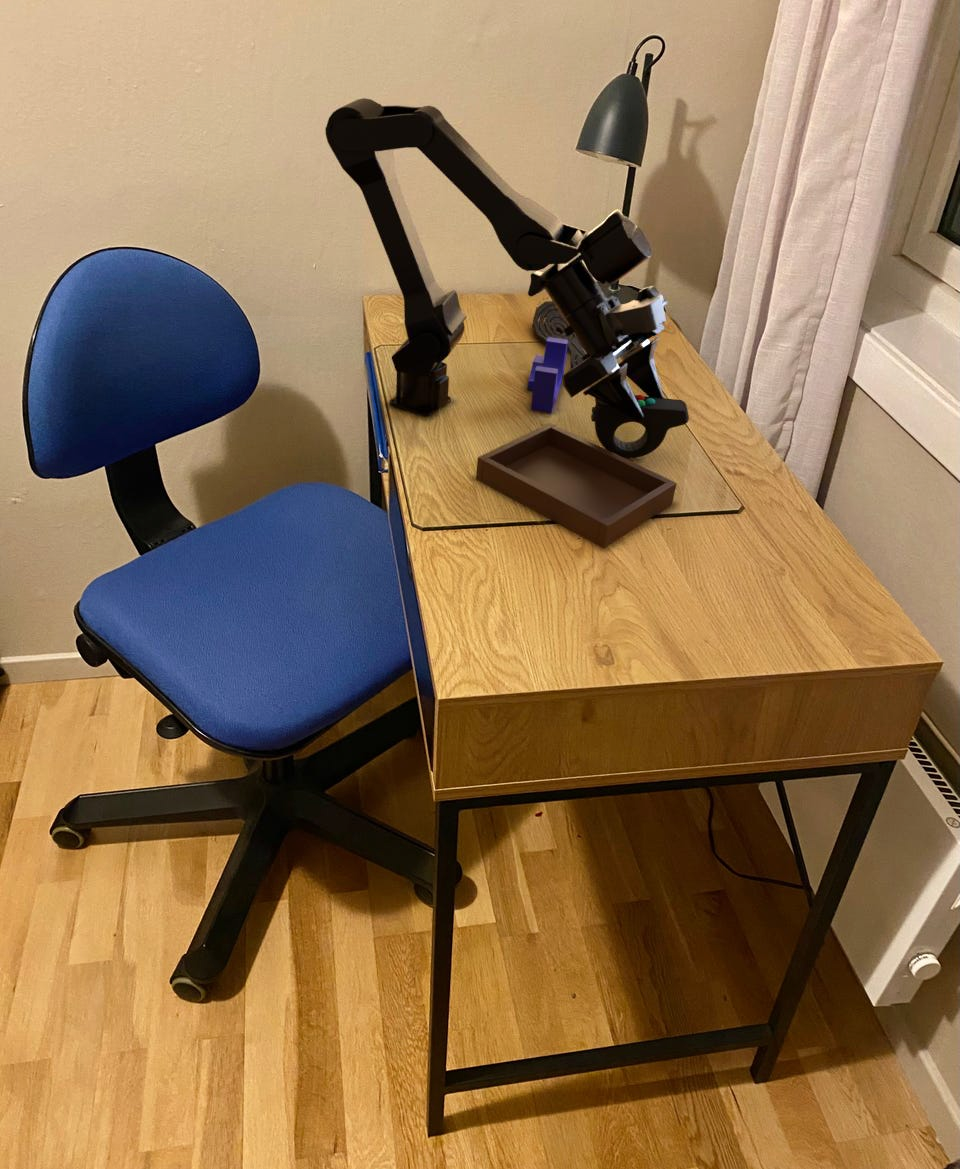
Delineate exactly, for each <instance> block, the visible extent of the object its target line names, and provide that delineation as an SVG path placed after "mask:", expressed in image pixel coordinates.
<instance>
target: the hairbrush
mask: <svg viewBox="0 0 960 1169" xmlns="http://www.w3.org/2000/svg"><path fill="white" fill-rule="evenodd" d="M548 298H549V297H545V298H544V297H543V299H542V300H543V302H542V301H539V302H538V306H535V308H536V309H535V311H534V315H533V318H532V325H531V326H532V329H533V332H534V336H535V338H536V340H538V341H539V342H540V343H542V344H543V345H545V346H546V341H547V338H548V337H551V338H558V339H565V340H568V344H567V353H568V355H569V364H570V365H569V366H570V370H571V369H573V368H574V367H575V366H577V365H578V364H580V363H581V362H583V360H582V357H583V356H584V355H586V354H587V353H586V352H585V350H584V349H583V347H582V346H581V344H580V343H579V341H578V340H577V338H576V336H575V335H574V333H572V334H571V335H570V336H568V337H567V335H566V334H565V332H564V331H563V330H564V329H565V328H567V327H568V324H567V323H566V321H565V320H564V319H565V318H563V316H562V315H561V313H560V312H559V310H558V309H557V307H556V306H555V304H554V303H553V301H552V300H551V301H550V300H548ZM546 299H547V300H548V301H547V300H546ZM541 302H542V303H541ZM566 318H567V317H566Z"/></svg>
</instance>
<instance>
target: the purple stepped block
mask: <svg viewBox="0 0 960 1169" xmlns="http://www.w3.org/2000/svg"><path fill="white" fill-rule="evenodd" d="M567 344H568V340H565V339H558V338H551V337H548V338H547V341H546V345H545V347H544V355H540V354H535V356H534V358H533V360H532V365H531V370H530V374H529V376H528V380H527V391H529V392H530V391H531V392H532V395H531V396H532V397H531V404H530V405H531V406H530V410H531V411H535V412H541V413H547V414H549V413H550V414H552V413H553V410H554V408H555V405H556V402H557V398H558V395H559V391H560V389H561V385H562V384H563V379H564V375H565V366H566V359H567V353H568V350H567Z"/></svg>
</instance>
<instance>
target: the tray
mask: <svg viewBox="0 0 960 1169" xmlns="http://www.w3.org/2000/svg"><path fill="white" fill-rule="evenodd" d="M476 460H477V461H476V475H475V480H476V481H479V482H481V483H483V484H484V485H486V486H488V487H490V488H491V489H493V490H495V491H497V492H498V493H501V494H503V495H505V496H506V497H508V498H510V499H512V500H514V501H516V502H517V503H520V504H521V505H523V506H524V507H527V508H528V509H531V511H534V512H536V513H538V514H540V515H542V516H543V517H545V518H547V519H549V520H551V521H552V522H554V523H556V524H558V525H560V526H562V527H563V528H566V529H567V530H569V531H571V532H573V533H574V534H577V535H578V536H580V537H582V538H584V539H586V540H587V541H589V542H591V543H593V544H595V545H597V546H599V547H600V548H602V549H605V548H607V547H609V546H610V545H611V544H613V543H615V542H616V541H618V540H619V539H620V538H621V539H622V537H624V536H625V535H627V534H628V533H631V531H633V530H635V529H636V528H638V527H639V526H641V525H642V524H644V523H646V522H647V521H649V520H650V519H651V518H653V517H655V516H656V515H658V514H660V513H661V512H663V511H664V510H666V509H667V508H669V507H670V506H672V505H673V503H674V498H675V492H676V489H677V482H676V481H674V480H671V479H669V478H667V477H665V476H663V475H661V474H659V473H657V472H655V471H653V470H650V469H649V468H646V467H644V466H642V465H640V464H638V463H636V462H635V461H631V460H630V459H628V458H624V457H621V456H619V455H617V454H615V453H613V452H611V451H608V450H606V449H605V448H604V447H603V446H600V445H598V444H596V443H593V442H591V441H589V440H588V439H585V438H583V437H580V436H579V435H577V434H575V433H573V432H571V431H568V430H566V429H564V428H562V427H560V426H558V425H556V424H554V423H552V422H549V423H546V424H544V425H542V426H540V427H538V428H536V429H533V430H532V431H530V432H527V433H526V434H523V435H521V436H519V437H517V438H515V439H513V440H510V441H509V442H507V443H504V444H503V445H500V446H498V447H496V448H494V449H492V450H490V451H489V452H486V453H484V454H482V455H480V456H477V459H476Z"/></svg>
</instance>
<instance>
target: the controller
mask: <svg viewBox="0 0 960 1169" xmlns="http://www.w3.org/2000/svg"><path fill="white" fill-rule="evenodd" d="M634 396H635V398H636V400H637V402H638V404H639V406H640V408H641V410H642V413H643V415H644V418H643V419H642V420H640V421H639V422H636V421H635V420H633V419H631V418H630V417H628V416H626V415H625V414H623V413H621V412H620V411H618V410H616V409H615V408H613V407H611V406H610V405H608V404H606V403H604V402H602V401H600V400H598V399H596V398H595V397H594V402H595V405H594V406H592V407H591V416H590V418H591V419H590V420H591V422H593V423H594V427H595V429H594V430H595V434H596V437H597V439H598V441H599V443H600V444H601V446H602V448H604V449H606V450H608V451H611V452H613V453H615V454H617V455H619V456H621V457H623V458H625V459H635V458H641V457H644V456H646V455H647V456H648V455H649V454H651V453H652V452H654V451H655V450H657V449H658V448H659V447H660V446H661V445H662V443H663V442H664V439H665V438H666V435H667V433H668V431H669V430H670V429H673V428H677V427H682V426H684V425H687V423H689V420H690V416H689V410H688V406H687V404H686V402H685V401H683V400H682V399H674V398H666V397H664V398H656V397H649V396H647V395H646V396H645V395H642V394H637V395H636V394H634ZM627 423H637V424H640V425H641V426H642V427H644V428H645V430H644V433H643V434H642V435H641V437H639V438H637V440H634V441H630V442H629V441H622V440H620V439H618V438H617V436H616V431H617V430H618V428H620V426H622V425H624V424H627Z"/></svg>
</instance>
